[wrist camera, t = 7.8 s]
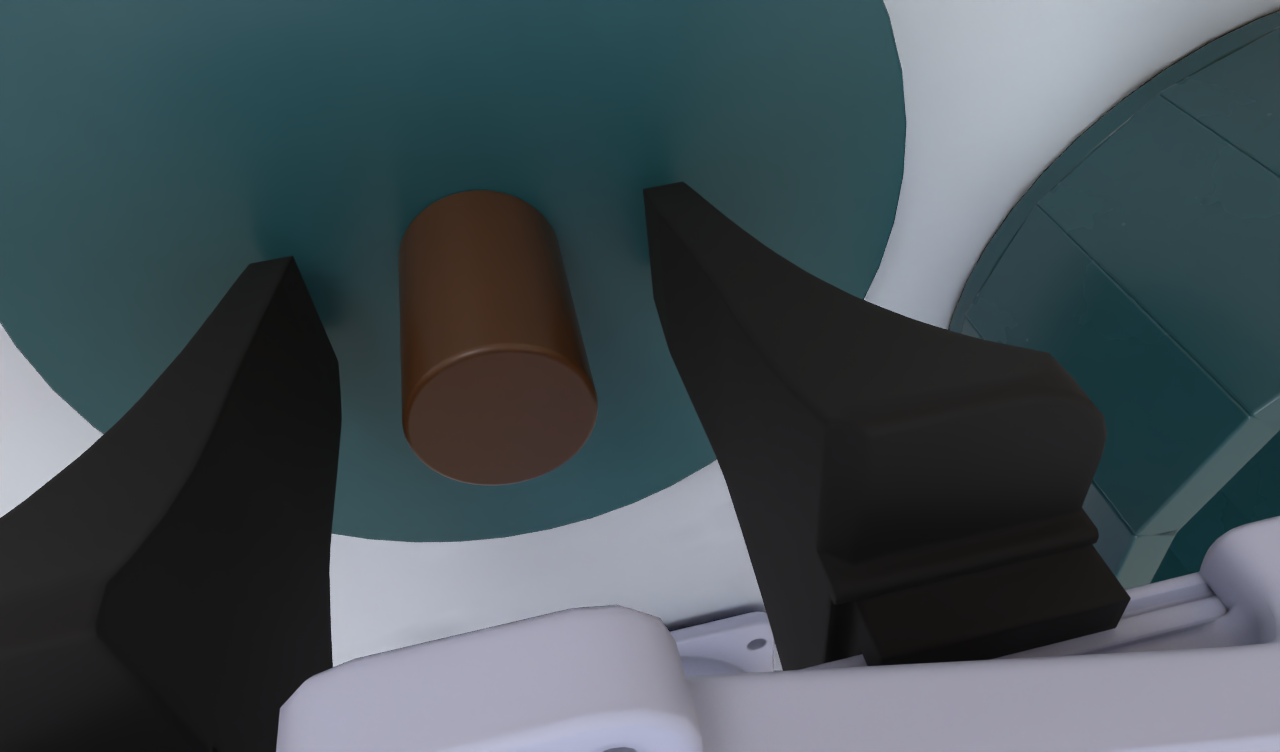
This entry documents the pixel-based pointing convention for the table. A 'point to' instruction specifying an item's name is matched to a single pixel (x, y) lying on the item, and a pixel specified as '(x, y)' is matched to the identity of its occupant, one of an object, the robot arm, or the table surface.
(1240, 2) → the table surface
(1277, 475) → the pot
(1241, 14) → the table surface
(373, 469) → the lid
